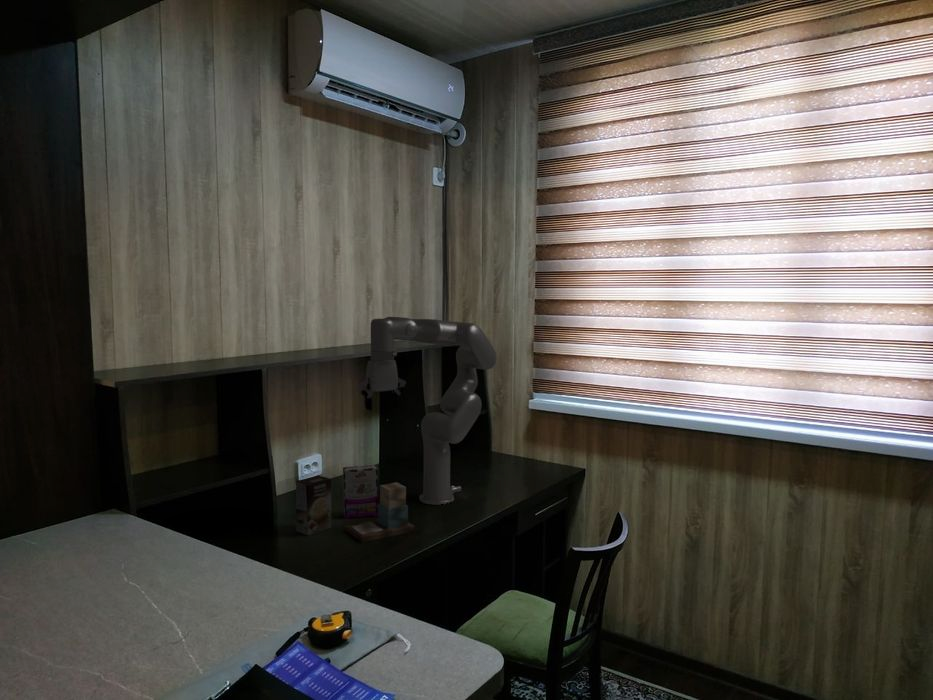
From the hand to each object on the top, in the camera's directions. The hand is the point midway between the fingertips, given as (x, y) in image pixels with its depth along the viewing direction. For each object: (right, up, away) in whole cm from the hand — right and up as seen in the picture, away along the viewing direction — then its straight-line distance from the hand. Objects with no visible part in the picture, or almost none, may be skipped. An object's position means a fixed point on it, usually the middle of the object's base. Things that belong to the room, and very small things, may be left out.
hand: (382, 408), depth 221 cm
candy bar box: (-8, -36, +4) cm, 37 cm away
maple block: (+4, -30, -8) cm, 31 cm away
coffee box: (-20, -37, -10) cm, 44 cm away
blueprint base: (+1, -38, -10) cm, 39 cm away
